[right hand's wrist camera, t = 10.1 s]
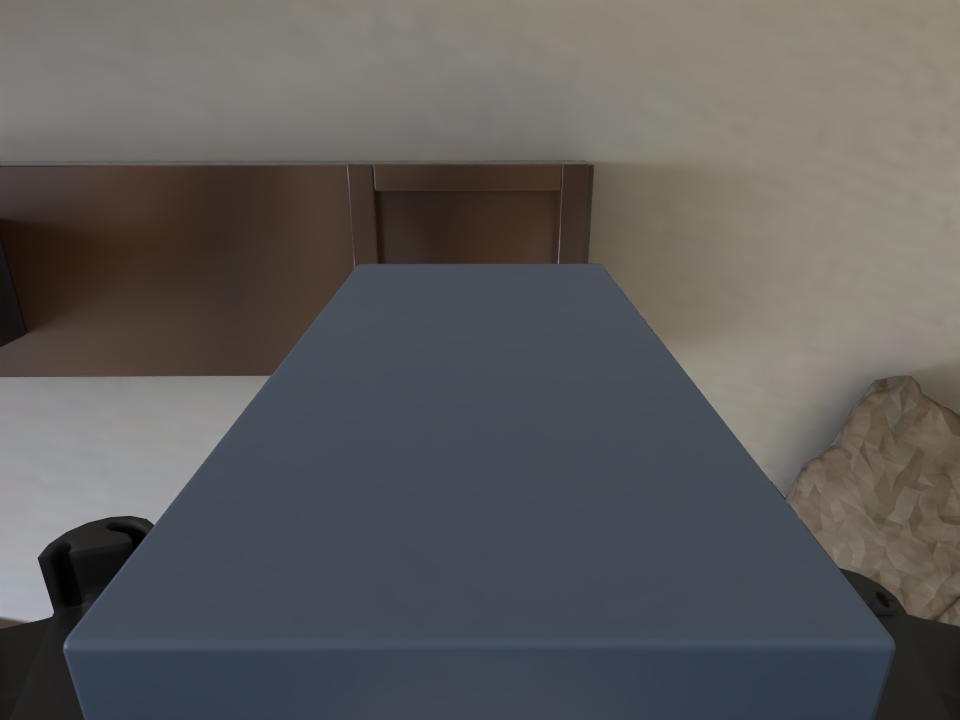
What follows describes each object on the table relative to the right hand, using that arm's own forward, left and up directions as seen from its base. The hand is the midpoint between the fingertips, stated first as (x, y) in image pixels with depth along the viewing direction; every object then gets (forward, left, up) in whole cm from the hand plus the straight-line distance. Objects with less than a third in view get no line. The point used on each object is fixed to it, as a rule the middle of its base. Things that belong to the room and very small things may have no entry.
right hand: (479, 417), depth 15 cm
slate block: (0, 0, -2) cm, 2 cm away
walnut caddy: (+8, +5, -15) cm, 18 cm away
